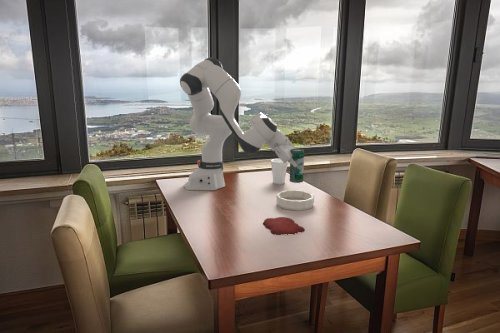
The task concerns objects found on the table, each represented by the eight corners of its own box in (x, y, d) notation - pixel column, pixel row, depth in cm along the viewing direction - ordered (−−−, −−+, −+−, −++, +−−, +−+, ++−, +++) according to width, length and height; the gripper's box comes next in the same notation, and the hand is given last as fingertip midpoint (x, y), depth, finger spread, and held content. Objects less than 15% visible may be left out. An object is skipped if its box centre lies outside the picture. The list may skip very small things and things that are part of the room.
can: (299, 183, 172) (300, 151, 169) (287, 181, 175) (288, 150, 172) (304, 180, 177) (306, 149, 174) (293, 178, 180) (294, 148, 177)
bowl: (282, 211, 168) (282, 202, 167) (273, 199, 184) (273, 191, 183) (318, 209, 171) (318, 200, 170) (306, 197, 187) (306, 189, 186)
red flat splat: (308, 233, 146) (308, 228, 145) (275, 238, 141) (275, 233, 141) (288, 218, 162) (288, 213, 161) (258, 221, 157) (258, 217, 157)
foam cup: (286, 185, 209) (286, 162, 206) (269, 184, 211) (270, 161, 208) (287, 180, 218) (288, 159, 215) (272, 180, 220) (272, 158, 217)
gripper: (278, 141, 164) (299, 164, 163) (286, 134, 183) (306, 155, 182) (268, 150, 166) (289, 173, 165) (277, 143, 185) (296, 164, 185)
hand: (298, 164), depth 174 cm, fingers closed on can, 6 cm apart
